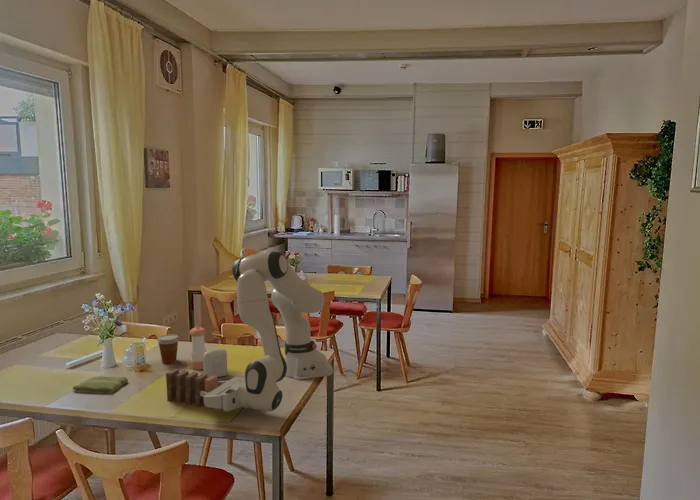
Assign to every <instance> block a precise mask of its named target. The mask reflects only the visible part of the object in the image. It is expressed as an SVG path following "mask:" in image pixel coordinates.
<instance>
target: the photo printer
mask: <svg viewBox="0 0 700 500" xmlns="http://www.w3.org/2000/svg"><path fill="white" fill-rule="evenodd" d="M203 363H204V369H203V374H207V376H208V378H209V377H211V376H212V375H215V376H217V378H221V377H224V376H228V353H227V350H226V349H225V348H213V349H208V350H206V352H205V353H204V355H203Z"/></svg>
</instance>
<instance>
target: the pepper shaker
mask: <svg viewBox="0 0 700 500" xmlns="http://www.w3.org/2000/svg"><path fill="white" fill-rule="evenodd" d="M206 333H207V331H206V329H205V328H204V327H200V326H198V325H197V326H195V327H193V328H191V329H190V330H189V335H190V336H191V351H190V358H191V359H190V368H191V370H195V371H196V370H204V363H203V355H204V353H205V352H207V349H206V346H205V335H206Z"/></svg>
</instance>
